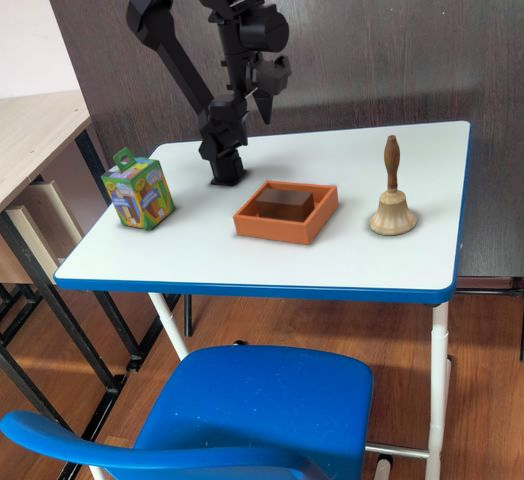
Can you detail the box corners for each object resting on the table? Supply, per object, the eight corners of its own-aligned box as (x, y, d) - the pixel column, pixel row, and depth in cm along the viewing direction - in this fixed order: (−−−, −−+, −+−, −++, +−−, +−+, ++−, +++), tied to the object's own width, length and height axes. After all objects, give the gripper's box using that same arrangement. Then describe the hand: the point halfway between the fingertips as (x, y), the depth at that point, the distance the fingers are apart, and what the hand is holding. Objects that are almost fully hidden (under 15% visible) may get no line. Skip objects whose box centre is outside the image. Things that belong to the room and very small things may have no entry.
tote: (237, 234, 103) (232, 216, 100) (270, 198, 110) (266, 180, 107) (308, 245, 95) (305, 225, 93) (339, 205, 103) (336, 185, 100)
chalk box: (151, 231, 110) (124, 165, 100) (120, 225, 115) (91, 161, 105) (177, 208, 115) (154, 142, 105) (147, 203, 120) (122, 139, 110)
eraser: (260, 220, 104) (255, 200, 100) (270, 208, 106) (266, 188, 103) (305, 226, 99) (301, 205, 96) (315, 213, 101) (312, 192, 98)
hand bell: (419, 210, 96) (420, 123, 85) (413, 236, 91) (413, 147, 80) (374, 210, 99) (369, 126, 88) (365, 235, 94) (359, 149, 83)
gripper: (251, 68, 85) (269, 159, 96) (302, 28, 95) (313, 114, 106) (196, 70, 90) (219, 156, 101) (250, 31, 101) (266, 114, 111)
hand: (256, 134), depth 105 cm, fingers open, 9 cm apart
